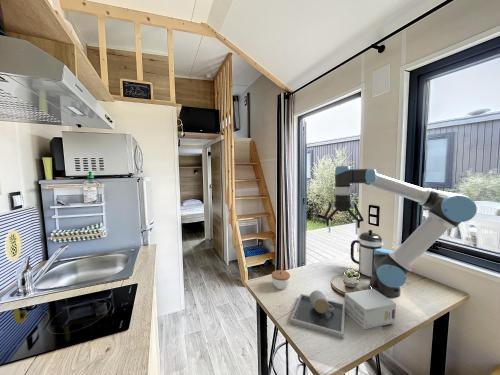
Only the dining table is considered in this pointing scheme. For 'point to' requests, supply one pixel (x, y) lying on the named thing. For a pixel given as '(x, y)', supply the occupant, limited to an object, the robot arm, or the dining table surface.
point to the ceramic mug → (320, 302)
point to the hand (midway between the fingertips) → (342, 232)
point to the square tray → (319, 317)
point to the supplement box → (370, 308)
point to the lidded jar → (280, 279)
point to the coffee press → (366, 251)
